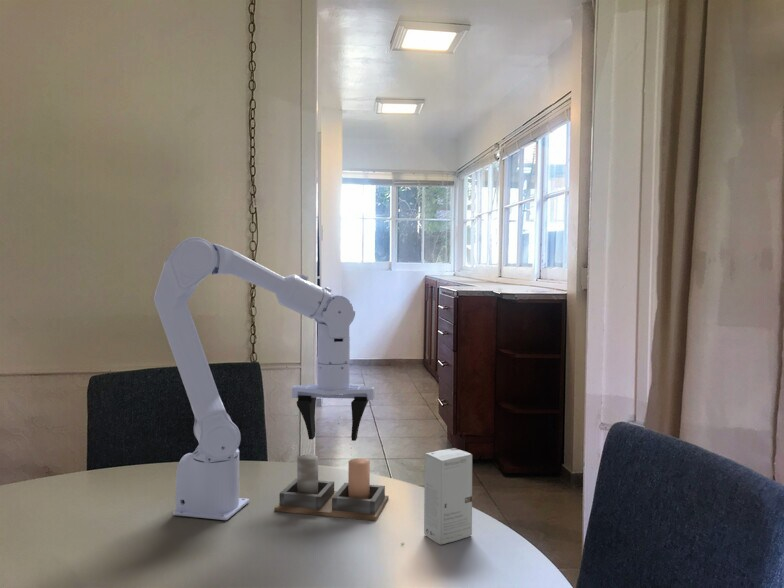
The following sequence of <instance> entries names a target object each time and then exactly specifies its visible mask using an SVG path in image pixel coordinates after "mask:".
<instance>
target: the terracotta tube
mask: <svg viewBox="0 0 784 588" xmlns="http://www.w3.org/2000/svg"><path fill="white" fill-rule="evenodd" d="M370 464H371V463H370V460H369V459H367V458H362V457H361V458H359V457H358V458H352V459H349V460H348V475H347V476H348V482H347V483H348V497H351V498H362V499H370V485H371V484H370V483H371V482H370V481H371V480H370V479H371V477H370V475H371V474H370V471H371V465H370Z"/></svg>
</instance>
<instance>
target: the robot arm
mask: <svg viewBox="0 0 784 588" xmlns="http://www.w3.org/2000/svg"><path fill="white" fill-rule="evenodd" d="M210 274H211V276H219V275H221V276H225V275H229V276H230V275H232V276H234V277H236V278H239V279H241V280H244V281H246V282H248V283H251V284H253V285H254V286H257V287H260V288H262V289H264V290H267V291H269V292H272V293H273V294H275V297H276V299H277V302H278V304H279V305H281V306H283V307H285V308H288V309H290V310H292V311H294V312H296V313H299V314H301V315H303V316H304V317H307V318H309V319H311V320H312V319H313V320H314V321H315V322H316V324H317V338H316V339H317V343H316V344H317V346H316V347H317V348H316V351H317V355H316V358H317V359H316V360H317V361H316V363H317V364H316V369H317V370H316V372H317V373H316V384H302V385H301V384H299V385H296V384H295V385H293V386H292V388H291V398H292V399H297V401H296V407H297V408H298V410H299V412H300V414H301V417H302V418H303V421H304V424H305V428H306V431H307V435H308V436H307V437H308V440H314V438H315V437H316V407H317V405H316V403H317V402H316V401H317V398H318V399H319V398H320V399H325V398H326V399H353V400H352V401H351V403H350V405H351V406H350V407H351V437H350V438H351V441H353V442H356V441H357V440H358V432H359V428H360V424H361V420H362V418H363V414H364V412H365V409H366V407H367V405H368V402H369V401H373V400H374V398H375V387H374V386H361V385H350V360H351V359H350V349H351V347H350V345H351V344H350V341H351V339H350V338H351V337H350V326H351V324H352V323H353V321H354V319H355V316H356V311H355V310H354V307H353V305H352V303H351V301H350V300H349V299H348V298H347V297H345V296H343V295H337V294H336V295H334V294H332V289H331V288H330V287H328V286H326V287H324V288H323V287H321V286H319V285H318V284H315V283H313V282H312V281H309V280H308V279H309V276H307V275H306V274H303V273H302V274H301V273H300V274H299V275H297V274H295V273H292V274H290V275H287V276H282V275H280V274H278V273H277V272H275V271H273V270H271V269H269V268H267V267H266V266H263V265H262V264H260V263H258V262H255V261H254V260H252V259H250V258H248V257H247V256H245V255H243V254H241V253H239V252H238V251H235V250H233V249H230V248H228V247H226V246H223V245H220V244H216V243H213V244H211V242H210V241H208V240H207V239H205V238H203V237H196V236H195V237H188V238H186V239H184V240H182V241H181V242H180V243H179V244H177V245H176V246H175V247H174V248H173V250H172V251H171V252H170V253H169V255H168V256H167V257H166V259H164V263H163V267H162V270H161V273H160V276H159V280H158V281H157V286H156V288H155V292H154V296H153V300H154V306H155V308H156V311H157V313H158V316H159V319H160V321H161V324H162V328H163V330H164V333H165V336H166V339H167V342H168V344H169V348H170V350H171V354H172V355H173V359H174V361H175V364H176V367H177V370H178V372H179V375H180V376H179V377H180V378H181V380H182V384H183V386H184V389H185V393H186V395H187V398H188V400H189V401H188V402H189V403H190V407H191V411H192V413H193V415H194V416H193V417H194V424H193V434H194V437H195V439H196V440H197V441H198V445H197V447H196V448H195V450H194V451H193V452H188V453H186V454H184V455H183V456H182V457H181V458H180V460H179V462H178V463H177V467H176V472H175V510H174V511H173V512H172V515H173V516H178V517H181V516H182V517H189V518H202V519H208V520H209V519H210V520H211V519H212V520H220V521H221V520H222V521H227V520H229V519H230V518H231V517H232V516H234V515H235V514H236V513H238V512H239V511H240V510H241V509H242V508H244V506H245V505H247V504H248V503H250V498H244V497H243V498H242V497H240V449H239V446H240V444H241V440H242V439H241V438H242V437H241V432H240V429H239V427H238V426H237V425H236V424H235V423H234V421H232V418H231V416H230V415H229V413H227V410H226V408H225V406H224V403H223V401H222V398H221V396H220V394H219V390H218V388H217V385H216V382H215V380H214V376H213V373H212V371H211V368H210V364H209V363H208V359H207V356H206V353H205V351H204V348H203V345H202V342H201V340H200V337H199V333H198V331H197V328H196V325H195V322H194V318H193V316H192V313H191V311H190V307H189V304H188V303H189V300H190V299H191V297H192V295H193V294H194V292H195V291H196V289H197V287H198V285H199V284H200V283H201V282H202V281H203V280H205V279H206V278H207V277H208V276H209V275H210Z"/></svg>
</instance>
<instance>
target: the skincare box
mask: <svg viewBox="0 0 784 588" xmlns="http://www.w3.org/2000/svg"><path fill="white" fill-rule="evenodd" d="M423 490H424V492H423V493H424V499H423V500H424V501H423V502H424V503H423V504H424V505H423V510H424V512H423V517H424V518H423V534H424V536H426V537H427V538H429V539H430V540H432V541H433V542H434V543H436V544H438V545H439V546H440V545H445V544H448V543H452V542H456V541H460V540H462V539H467V538H469V537H471V536H472V535H473V454H472V453H470V452H468V451H465V450H461V449H458V448H456V447H453V448H447V449H439V450H436V451H435V450H434V451H432V452H431V451H430V452H425V454H424V489H423Z"/></svg>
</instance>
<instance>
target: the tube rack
mask: <svg viewBox="0 0 784 588" xmlns="http://www.w3.org/2000/svg"><path fill="white" fill-rule="evenodd" d="M296 460H297V461H296V464H297V465H296V467H297V468H296V469H297V470H296V473H297V474H296V475H297V476H296V477H297V478H295V479H293V480H292V481H291V482H290V483H289V484H288V485H287V486H286V487H285V488H283V489H282V490H281V491H280V492H279V501H278V502H279V503H277V504H276V505H275V506H274V512H281V513H282V512H283V513H289V514H290V513H291V514H292V513H293V514H302V515H303V514H304V515H311V516H312V515H314V516H321V517H322V516H325V517H334V518H345V519H354V520H366V521H375V522H376V521H377V520H378V518H379V516H380V515H381V513H382V512H383V509H384V508H385V506H386V504H387V503H388V501H389V500H390V499H389V495H386V486H385V485H378V484H370V499H362V498H351V497H348V482H344V483H343V484H342V485H341V486H340V488H339V489H338V490H337V491H336V490H335V481H329V480H328V481H327V480H319V456H318V455H316V454H303V455H299V456H297V459H296Z"/></svg>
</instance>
